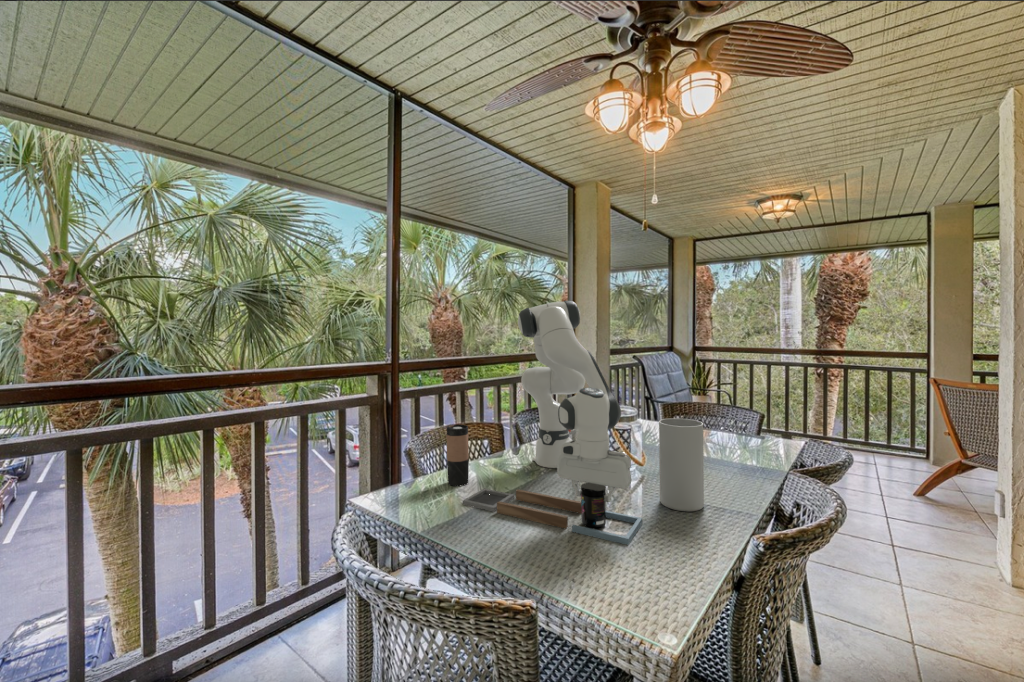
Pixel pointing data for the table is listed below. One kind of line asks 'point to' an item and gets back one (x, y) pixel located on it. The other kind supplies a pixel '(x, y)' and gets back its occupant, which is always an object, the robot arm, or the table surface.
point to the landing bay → (611, 536)
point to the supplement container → (593, 505)
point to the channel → (539, 514)
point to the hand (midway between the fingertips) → (593, 498)
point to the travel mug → (457, 455)
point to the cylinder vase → (681, 464)
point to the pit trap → (487, 499)
